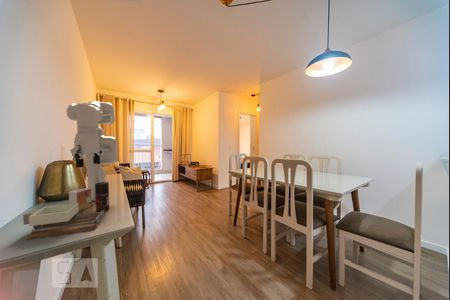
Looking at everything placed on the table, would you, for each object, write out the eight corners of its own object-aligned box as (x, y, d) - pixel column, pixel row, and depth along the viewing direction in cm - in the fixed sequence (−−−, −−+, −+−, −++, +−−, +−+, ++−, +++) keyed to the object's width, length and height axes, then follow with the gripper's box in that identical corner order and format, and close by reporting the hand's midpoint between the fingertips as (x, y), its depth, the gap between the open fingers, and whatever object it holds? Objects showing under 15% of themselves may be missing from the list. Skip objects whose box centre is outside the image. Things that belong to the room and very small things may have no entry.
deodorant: (98, 208, 93) (97, 182, 92) (110, 207, 96) (109, 181, 95) (94, 213, 88) (93, 185, 87) (107, 211, 90) (106, 184, 89)
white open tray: (36, 221, 74) (35, 207, 74) (78, 215, 80) (78, 203, 79) (19, 232, 65) (18, 217, 64) (68, 225, 70) (67, 211, 70)
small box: (77, 212, 89) (76, 192, 89) (69, 210, 90) (68, 191, 90) (92, 206, 97) (91, 188, 96) (84, 205, 98) (83, 187, 98)
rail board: (48, 222, 77) (48, 215, 77) (105, 215, 85) (104, 208, 85) (26, 239, 64) (25, 231, 64) (95, 229, 72) (95, 221, 72)
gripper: (94, 131, 90) (95, 162, 91) (62, 129, 72) (64, 168, 74) (108, 131, 89) (109, 163, 91) (78, 130, 72) (80, 169, 74)
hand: (88, 165), depth 82 cm, fingers open, 9 cm apart
